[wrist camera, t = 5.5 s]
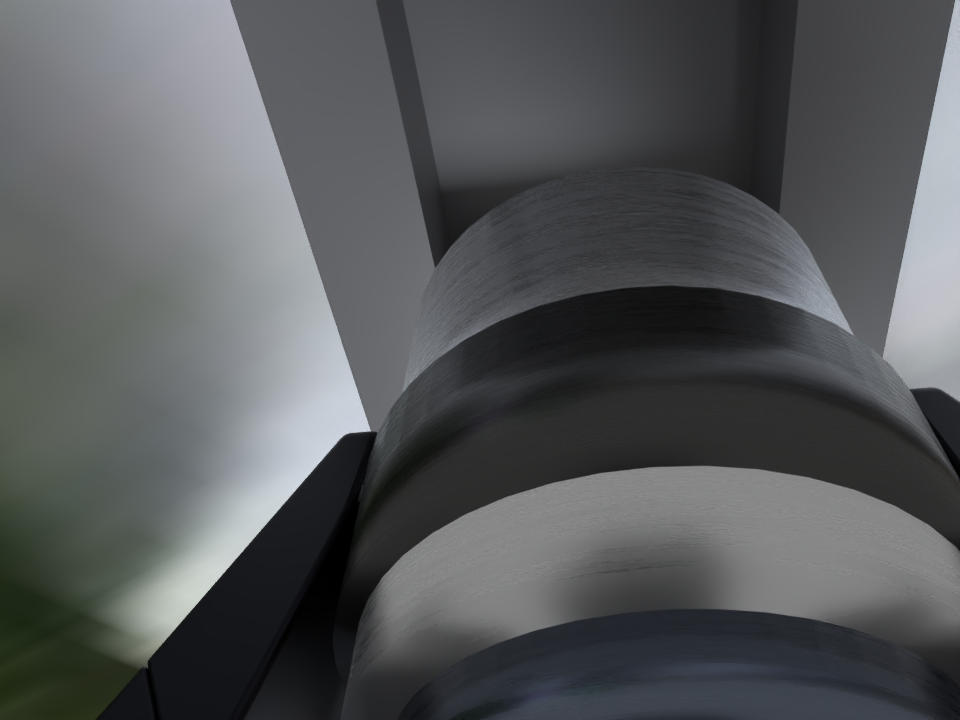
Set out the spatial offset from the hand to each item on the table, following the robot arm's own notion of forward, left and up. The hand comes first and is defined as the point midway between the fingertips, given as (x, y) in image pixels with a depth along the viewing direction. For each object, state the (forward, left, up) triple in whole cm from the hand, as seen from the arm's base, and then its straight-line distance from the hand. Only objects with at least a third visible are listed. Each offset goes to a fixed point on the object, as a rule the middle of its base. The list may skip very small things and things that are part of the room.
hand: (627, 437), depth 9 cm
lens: (0, 0, -2) cm, 2 cm away
